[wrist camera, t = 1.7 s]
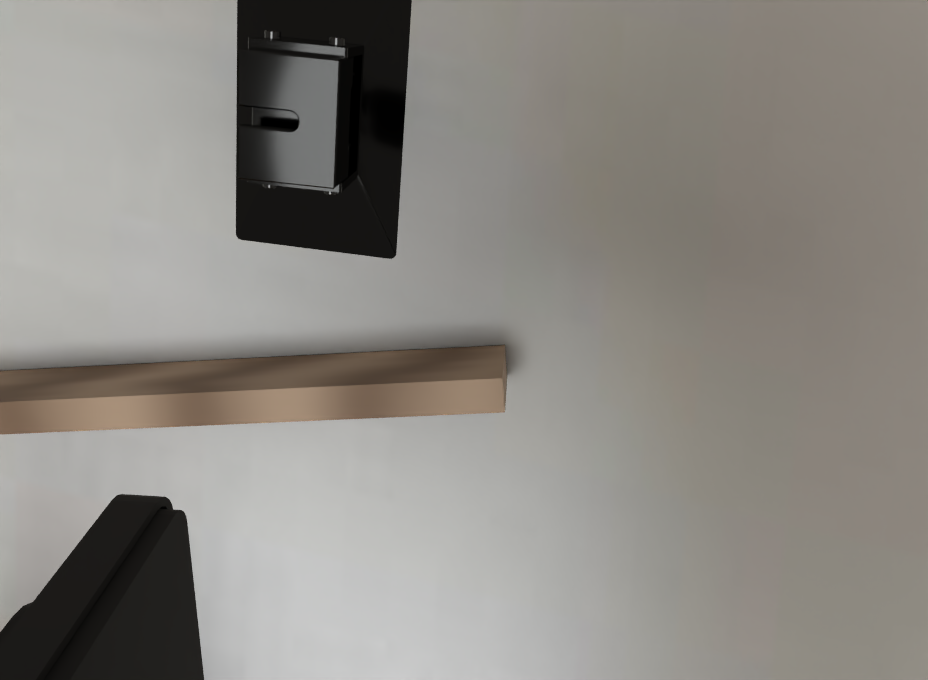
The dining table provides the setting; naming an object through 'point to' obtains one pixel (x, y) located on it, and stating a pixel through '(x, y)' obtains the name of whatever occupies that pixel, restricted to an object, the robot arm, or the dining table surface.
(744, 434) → the dining table surface
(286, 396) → the track
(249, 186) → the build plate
